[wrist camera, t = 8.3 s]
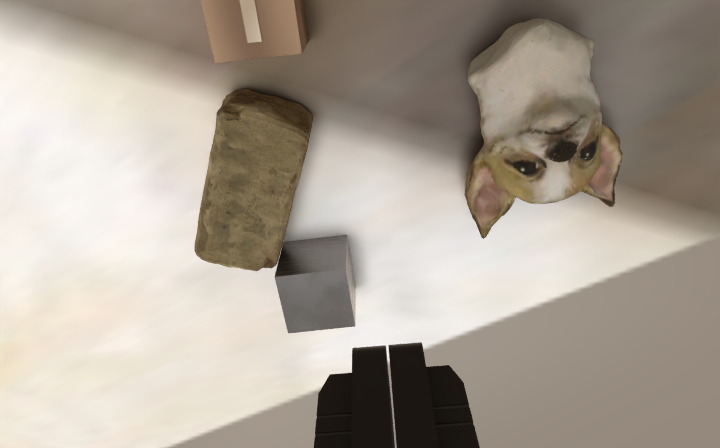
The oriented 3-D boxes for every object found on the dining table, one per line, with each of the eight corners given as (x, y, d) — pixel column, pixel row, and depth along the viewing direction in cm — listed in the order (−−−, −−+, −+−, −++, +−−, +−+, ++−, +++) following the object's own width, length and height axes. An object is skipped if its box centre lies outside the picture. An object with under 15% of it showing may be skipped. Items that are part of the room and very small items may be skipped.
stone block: (208, 229, 41) (189, 264, 36) (232, 79, 35) (213, 98, 31) (283, 247, 41) (274, 283, 37) (318, 102, 36) (312, 123, 32)
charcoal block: (346, 234, 41) (345, 269, 36) (355, 287, 43) (355, 326, 39) (281, 242, 41) (272, 277, 37) (293, 294, 43) (286, 333, 39)
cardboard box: (296, -46, 32) (286, -46, 27) (308, 40, 34) (301, 54, 30) (213, -36, 32) (189, -34, 27) (231, 49, 34) (211, 63, 30)
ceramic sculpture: (666, -4, 25) (664, 248, 32) (594, -24, 32) (605, 185, 40) (445, 61, 26) (492, 288, 34) (425, 27, 34) (466, 220, 41)
